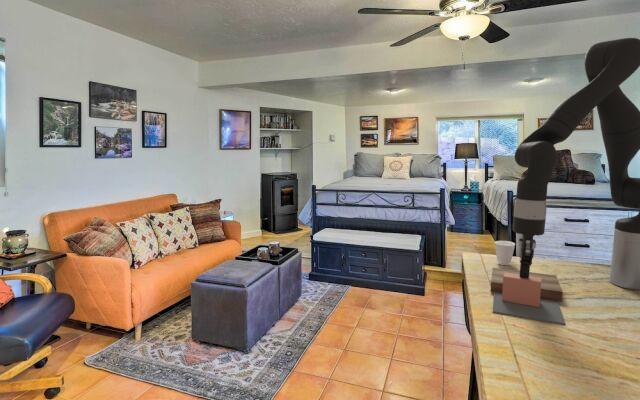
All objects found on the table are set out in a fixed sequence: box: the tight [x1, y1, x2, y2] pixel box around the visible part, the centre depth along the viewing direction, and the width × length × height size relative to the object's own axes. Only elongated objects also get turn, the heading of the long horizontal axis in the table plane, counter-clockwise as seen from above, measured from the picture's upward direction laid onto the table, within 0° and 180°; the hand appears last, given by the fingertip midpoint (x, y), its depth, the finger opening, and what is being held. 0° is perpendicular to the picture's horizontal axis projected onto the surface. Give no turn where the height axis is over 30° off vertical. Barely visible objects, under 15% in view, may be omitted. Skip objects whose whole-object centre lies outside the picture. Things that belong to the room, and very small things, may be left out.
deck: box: [490, 267, 563, 303], centre depth 109 cm, size 14×18×3 cm
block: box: [502, 273, 541, 307], centre depth 98 cm, size 7×9×4 cm
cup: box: [494, 240, 516, 267], centre depth 132 cm, size 7×10×8 cm
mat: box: [492, 292, 566, 326], centre depth 96 cm, size 14×16×1 cm
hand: (524, 277), depth 98 cm, fingers closed
